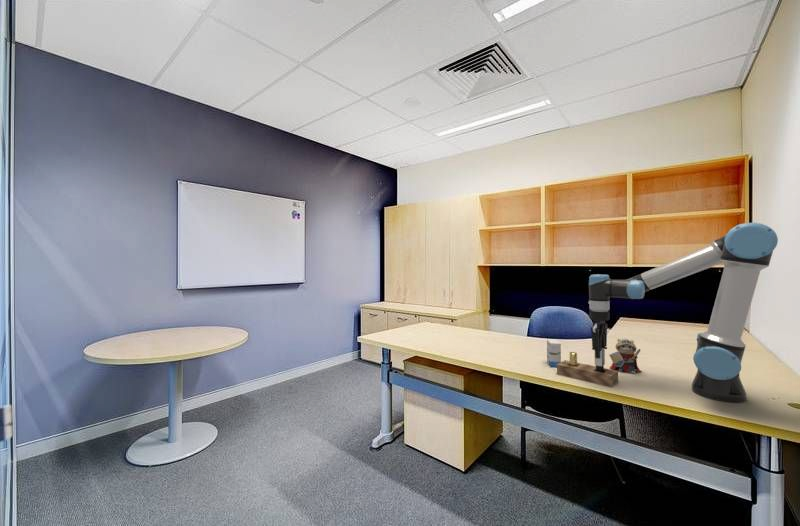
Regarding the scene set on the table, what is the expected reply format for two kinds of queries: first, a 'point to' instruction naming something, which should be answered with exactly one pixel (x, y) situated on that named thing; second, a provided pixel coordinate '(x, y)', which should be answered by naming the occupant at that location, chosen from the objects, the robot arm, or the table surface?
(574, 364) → the brass peg
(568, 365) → the hole block
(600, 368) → the steel peg
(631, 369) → the figurine
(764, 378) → the table surface
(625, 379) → the table surface
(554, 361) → the ink box
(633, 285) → the robot arm
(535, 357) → the table surface
